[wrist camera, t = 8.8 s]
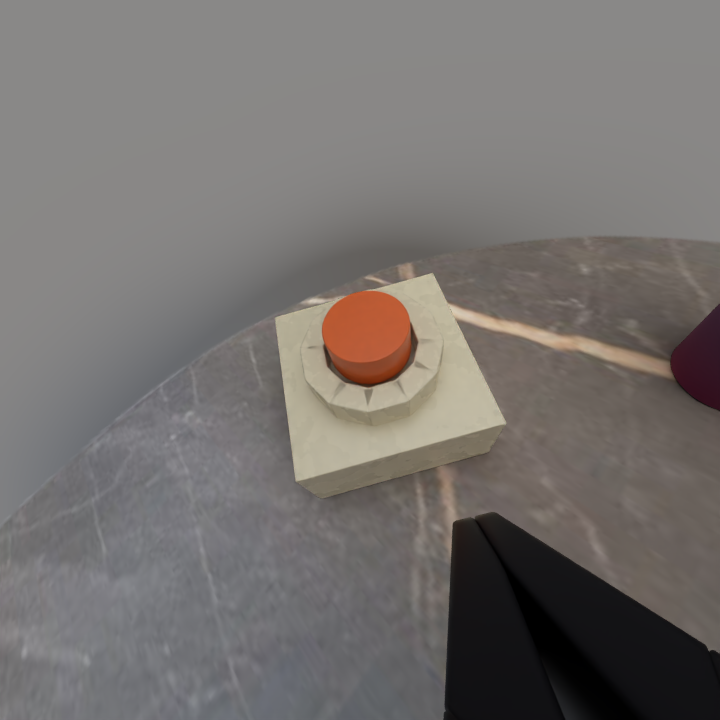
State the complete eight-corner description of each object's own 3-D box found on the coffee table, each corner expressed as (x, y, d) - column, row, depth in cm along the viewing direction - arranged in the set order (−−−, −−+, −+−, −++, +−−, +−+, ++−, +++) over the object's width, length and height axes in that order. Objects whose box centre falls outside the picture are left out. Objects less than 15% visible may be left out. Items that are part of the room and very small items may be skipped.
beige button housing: (489, 452, 20) (516, 407, 14) (320, 499, 20) (281, 473, 14) (430, 319, 25) (433, 249, 20) (297, 356, 25) (263, 297, 20)
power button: (422, 371, 16) (422, 348, 14) (339, 394, 16) (330, 373, 14) (398, 307, 18) (395, 280, 17) (325, 328, 18) (315, 303, 17)
